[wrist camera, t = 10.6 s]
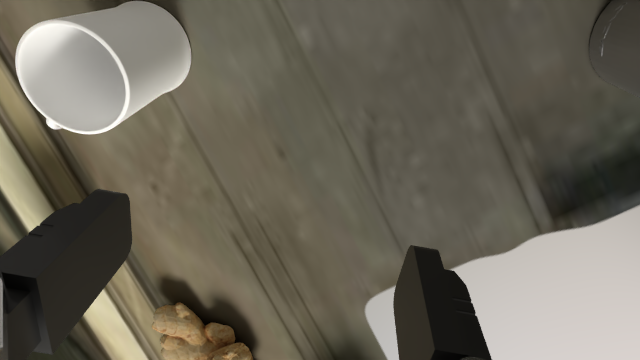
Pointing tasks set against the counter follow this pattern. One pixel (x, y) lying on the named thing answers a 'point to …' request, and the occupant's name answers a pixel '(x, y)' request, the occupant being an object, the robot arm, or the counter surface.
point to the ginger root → (195, 337)
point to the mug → (101, 64)
